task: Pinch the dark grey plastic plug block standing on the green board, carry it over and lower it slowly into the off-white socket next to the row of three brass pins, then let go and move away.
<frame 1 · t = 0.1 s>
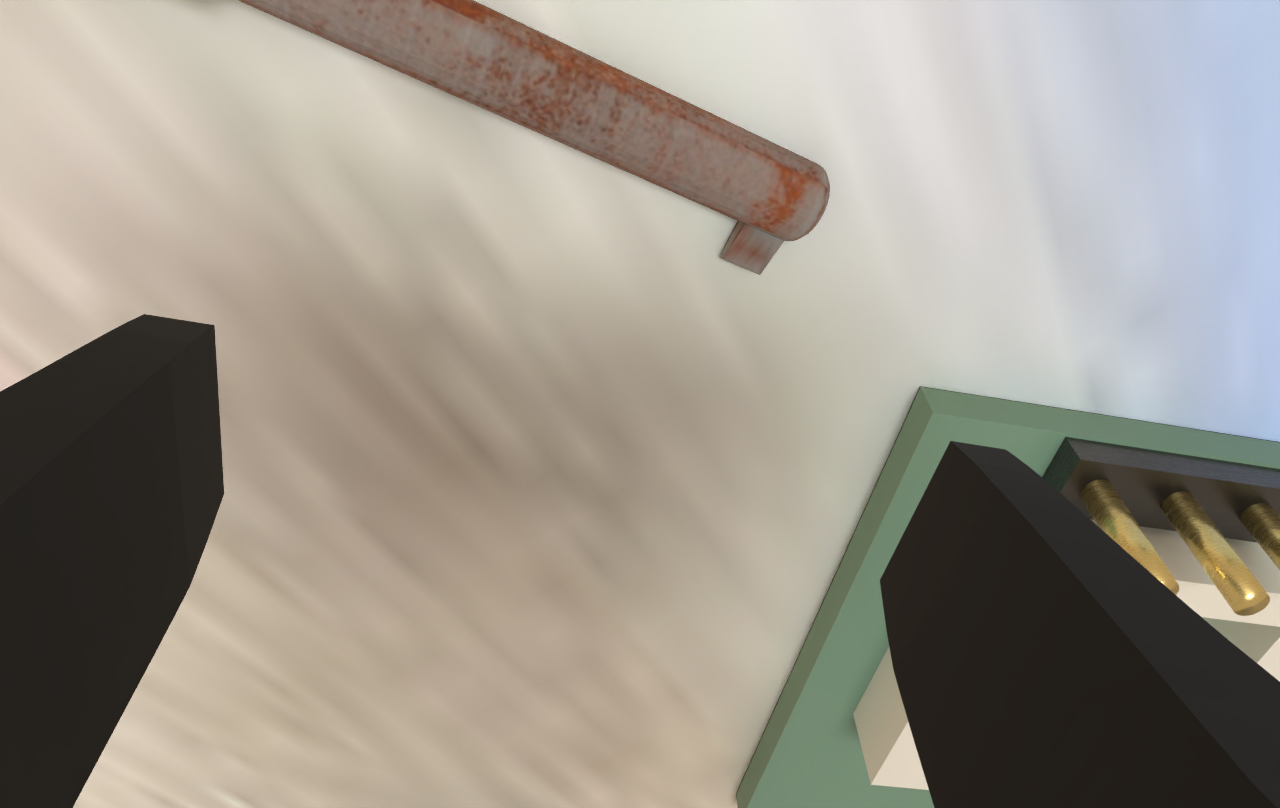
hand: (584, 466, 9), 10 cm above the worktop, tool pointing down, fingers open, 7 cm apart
pin header: (1202, 537, 20), on the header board, point 3 cm above the worktop
socket: (1074, 664, 24), on the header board, point 2 cm above the worktop
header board: (1093, 659, 27), on the worktop
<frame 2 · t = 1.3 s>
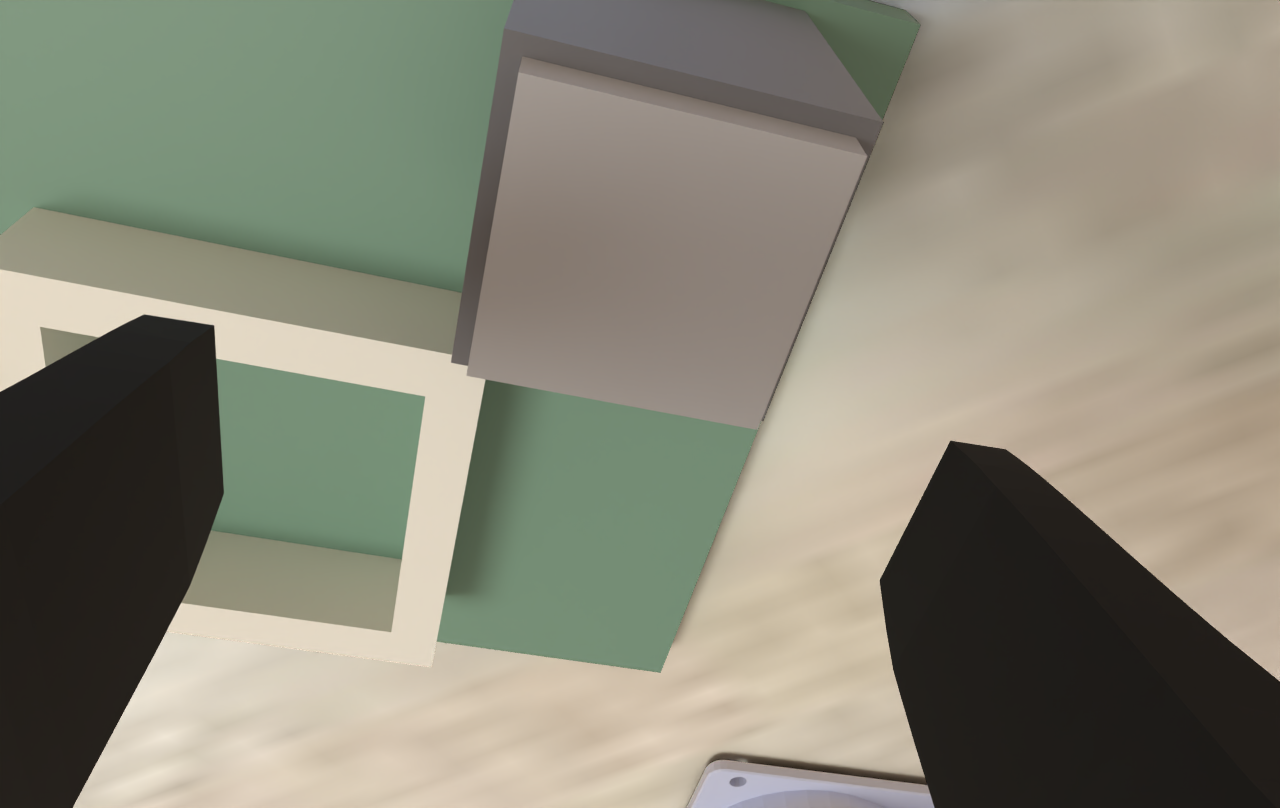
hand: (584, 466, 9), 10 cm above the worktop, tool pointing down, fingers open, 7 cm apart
plug: (639, 111, 16), point 1 cm above the worktop, touching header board
socket: (255, 463, 19), on the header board, point 2 cm above the worktop
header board: (385, 326, 20), on the worktop
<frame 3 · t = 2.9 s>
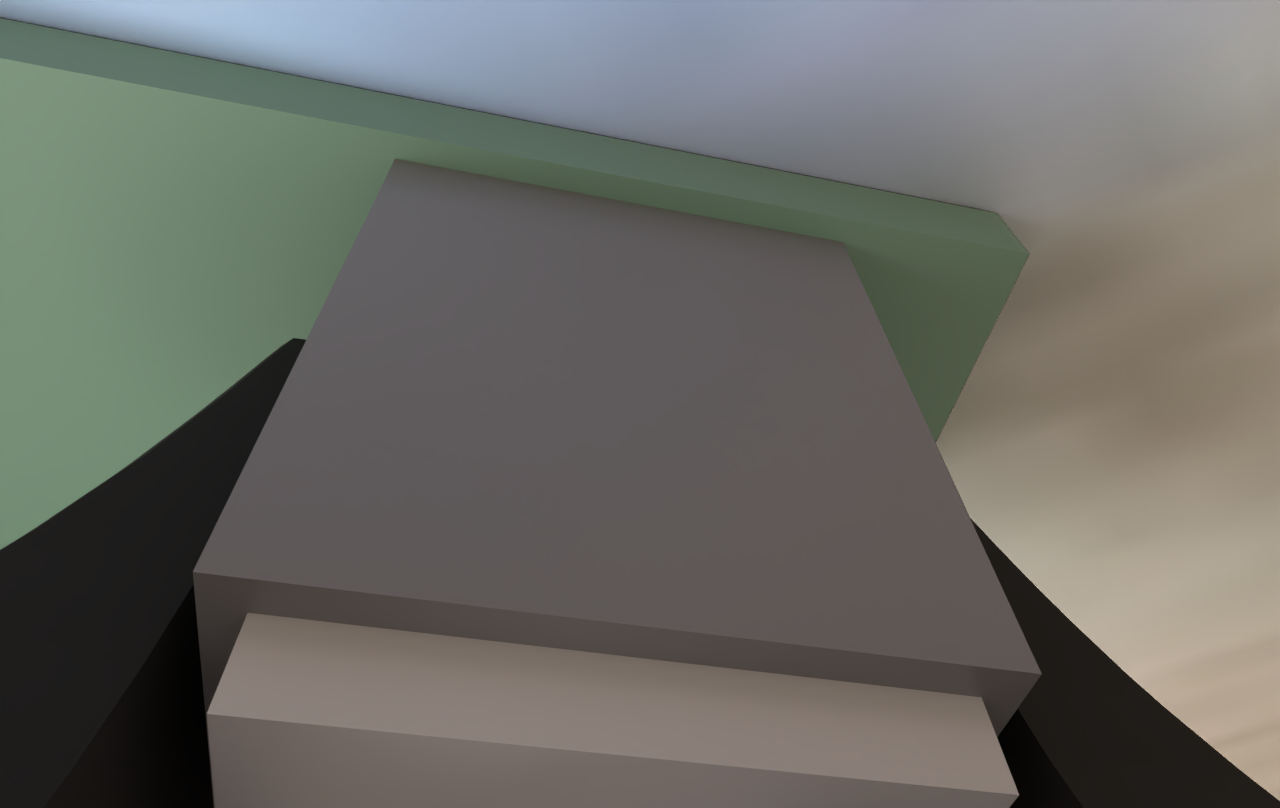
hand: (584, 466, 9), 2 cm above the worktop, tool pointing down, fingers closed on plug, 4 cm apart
plug: (586, 386, 11), point 1 cm above the worktop, touching gripper, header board
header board: (256, 629, 14), on the worktop
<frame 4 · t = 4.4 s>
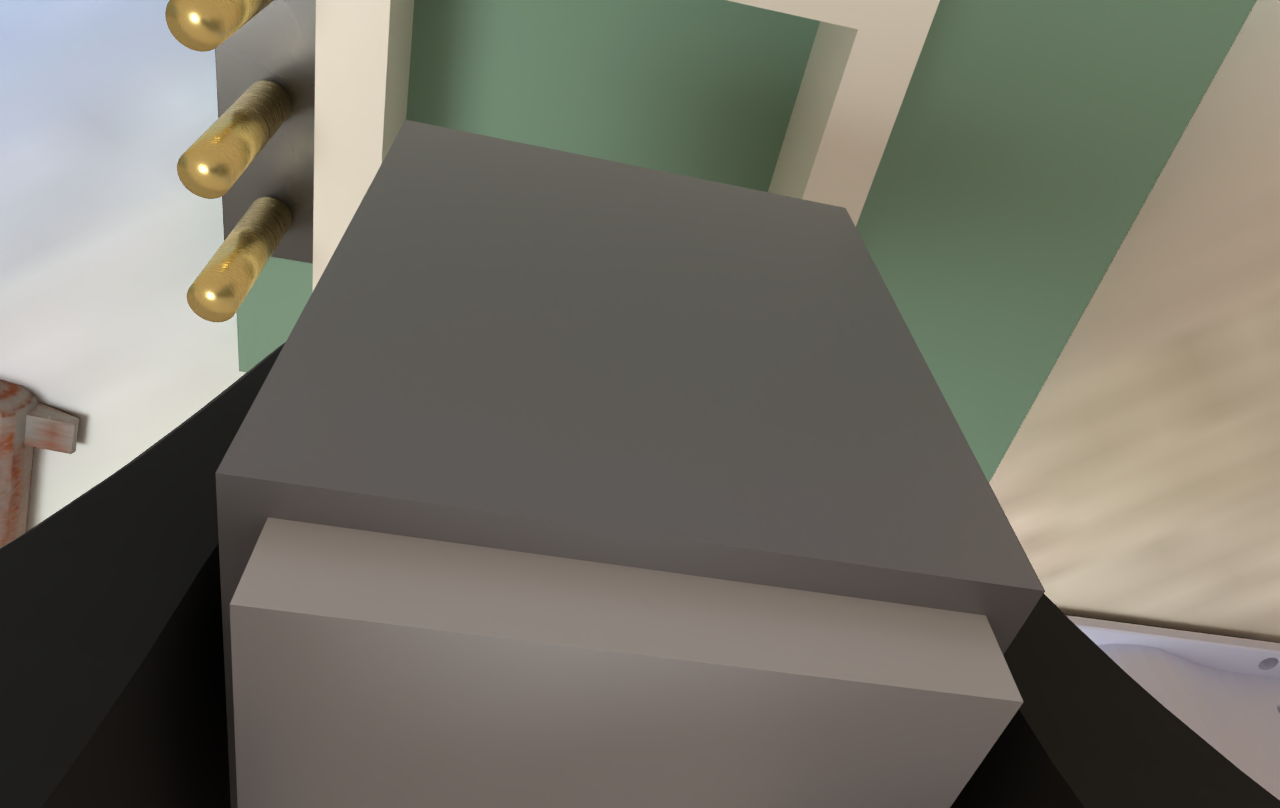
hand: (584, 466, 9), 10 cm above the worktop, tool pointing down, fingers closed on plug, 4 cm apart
plug: (591, 353, 11), point 8 cm above the worktop, touching gripper
pin header: (247, 125, 14), on the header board, point 3 cm above the worktop
socket: (593, 171, 16), on the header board, point 2 cm above the worktop
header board: (734, 10, 16), on the worktop
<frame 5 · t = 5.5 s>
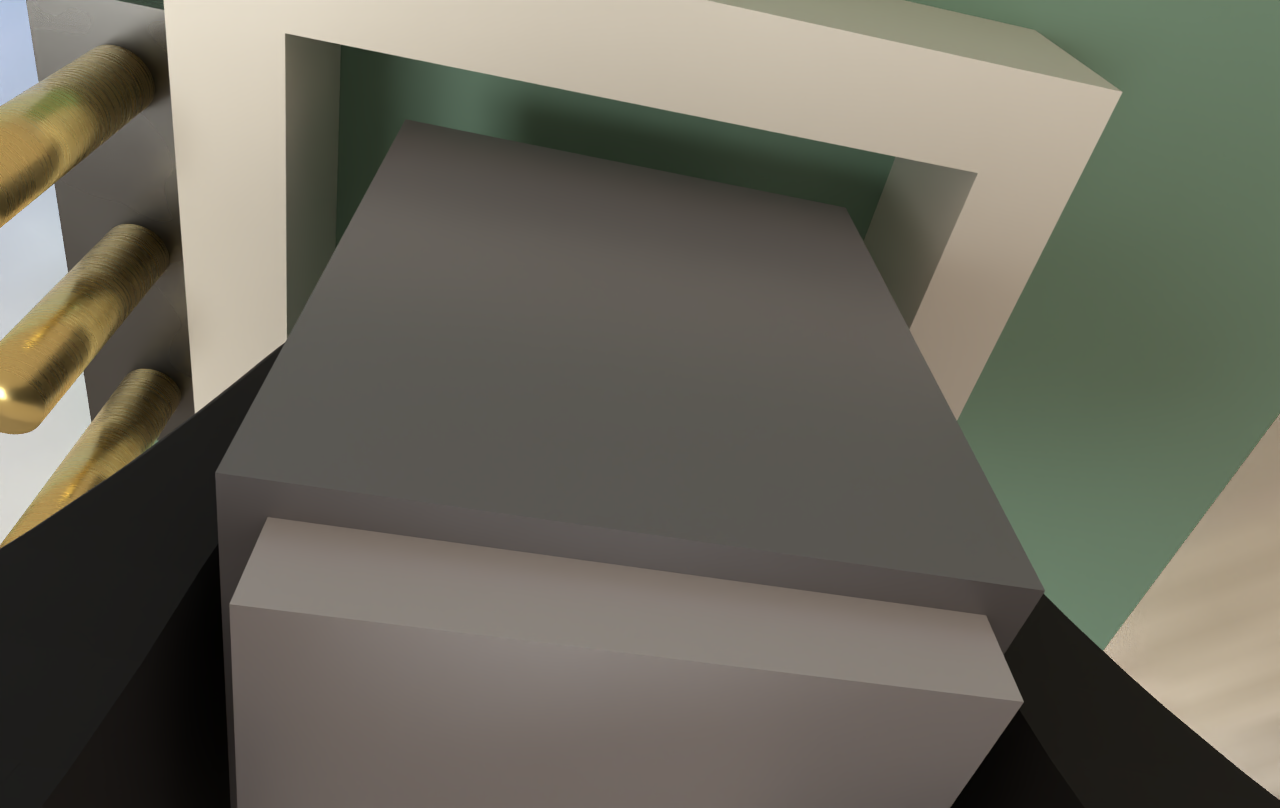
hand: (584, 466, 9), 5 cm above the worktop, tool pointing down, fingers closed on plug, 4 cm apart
plug: (591, 352, 11), point 3 cm above the worktop, touching gripper
pin header: (94, 298, 10), on the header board, point 3 cm above the worktop
socket: (589, 339, 11), on the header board, point 2 cm above the worktop
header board: (781, 113, 12), on the worktop
when the fingers open (4 cm above the worktop, at t = 6.2 s): plug drops 1 cm, resting on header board.
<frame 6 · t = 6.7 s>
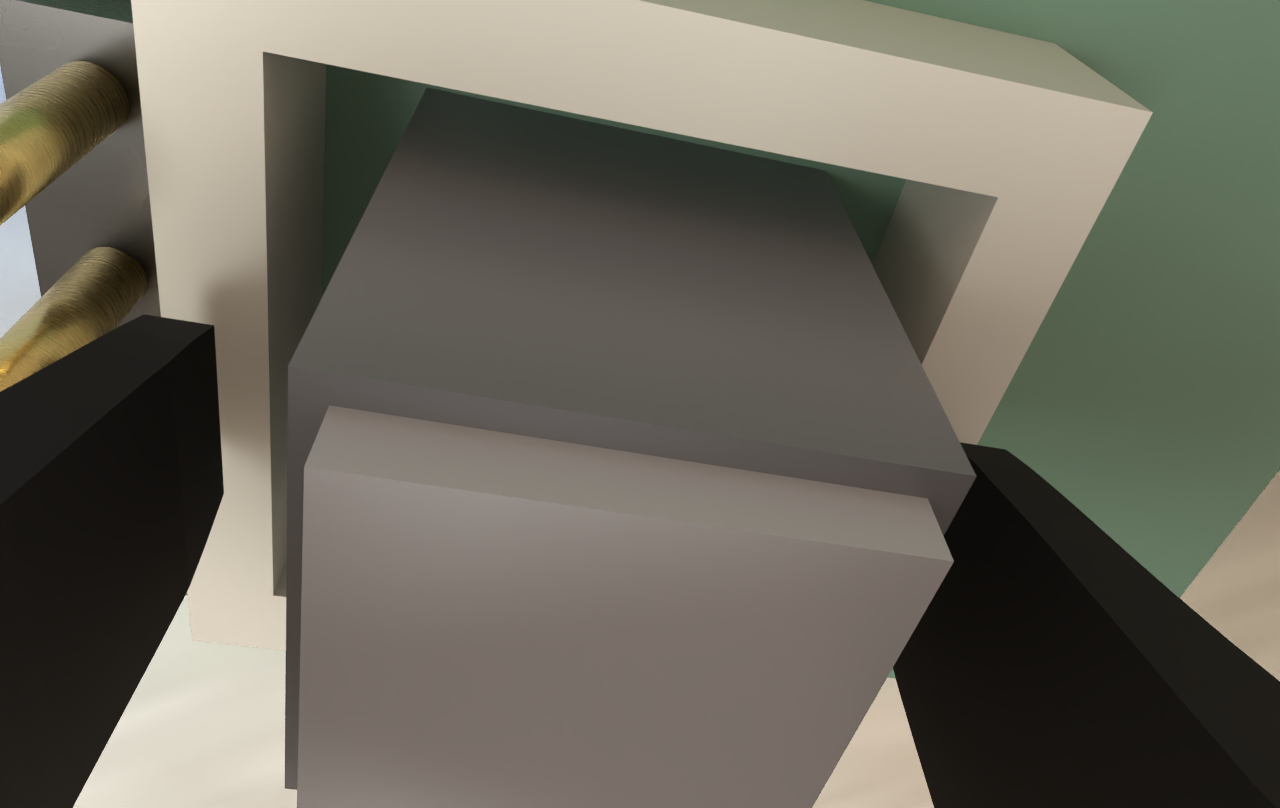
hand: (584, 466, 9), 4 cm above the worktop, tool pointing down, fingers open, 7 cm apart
plug: (593, 304, 12), point 1 cm above the worktop, touching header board
pin header: (66, 327, 9), on the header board, point 3 cm above the worktop
socket: (587, 366, 11), on the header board, point 2 cm above the worktop
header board: (788, 128, 11), on the worktop
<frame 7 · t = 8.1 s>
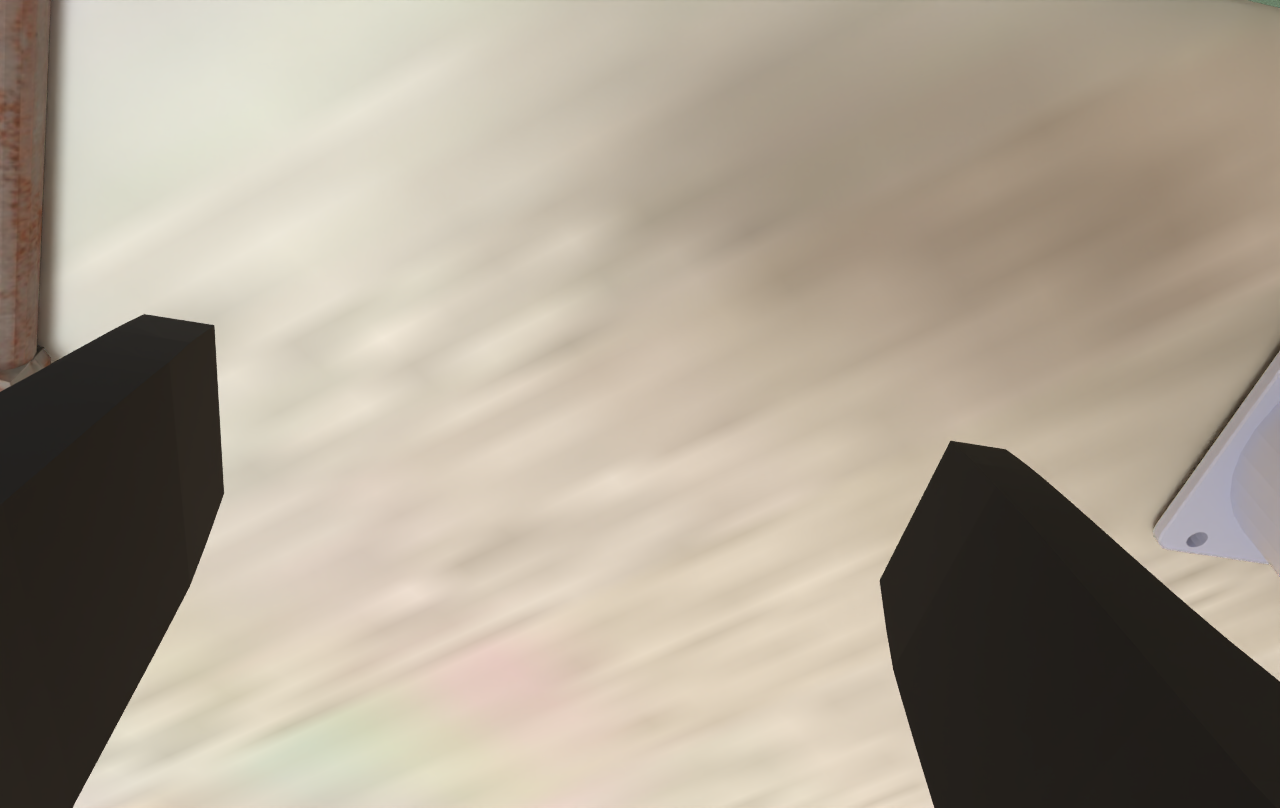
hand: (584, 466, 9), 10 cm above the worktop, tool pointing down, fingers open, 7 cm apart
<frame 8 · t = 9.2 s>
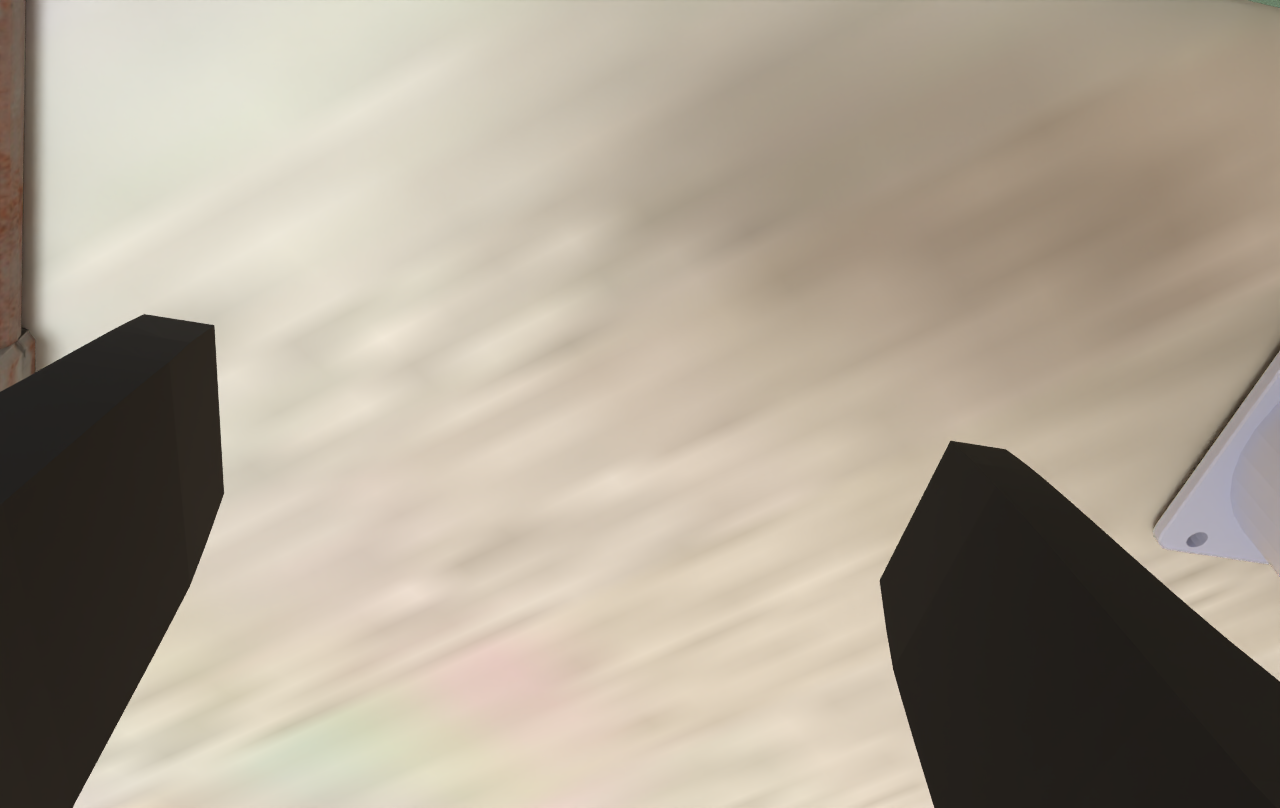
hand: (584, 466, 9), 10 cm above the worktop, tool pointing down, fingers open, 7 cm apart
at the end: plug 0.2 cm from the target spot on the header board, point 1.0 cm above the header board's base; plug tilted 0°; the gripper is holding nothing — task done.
